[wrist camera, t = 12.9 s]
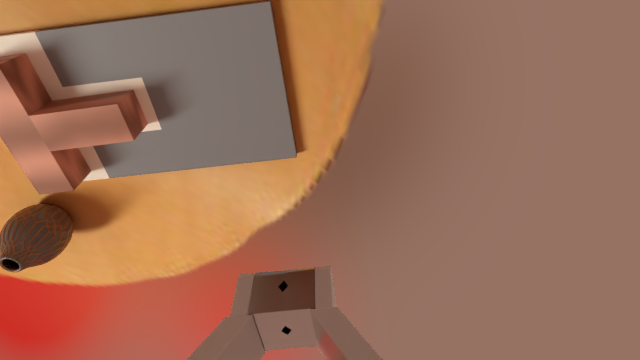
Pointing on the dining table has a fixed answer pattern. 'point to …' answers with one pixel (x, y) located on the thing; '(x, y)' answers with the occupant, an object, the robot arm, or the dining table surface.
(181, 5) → the dining table surface
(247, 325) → the robot arm
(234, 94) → the board
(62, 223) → the vase
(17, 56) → the t block
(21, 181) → the dining table surface
